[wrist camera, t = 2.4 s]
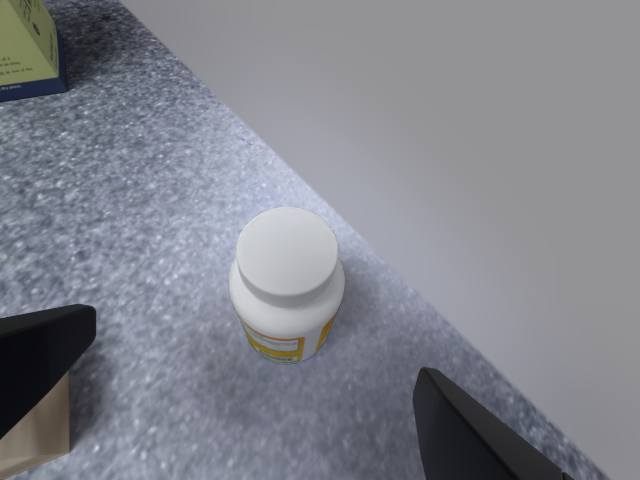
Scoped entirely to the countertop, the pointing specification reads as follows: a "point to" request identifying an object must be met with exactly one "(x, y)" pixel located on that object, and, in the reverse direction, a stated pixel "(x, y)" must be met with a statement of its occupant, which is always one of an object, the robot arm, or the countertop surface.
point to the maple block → (38, 433)
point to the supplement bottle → (286, 283)
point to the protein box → (29, 51)
